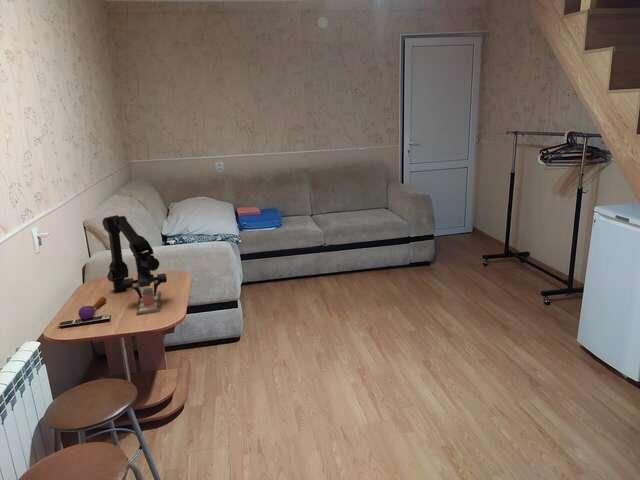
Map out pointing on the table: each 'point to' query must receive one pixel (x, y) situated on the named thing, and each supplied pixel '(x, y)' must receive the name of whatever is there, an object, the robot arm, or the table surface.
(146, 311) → the board
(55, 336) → the table surface
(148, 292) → the red and gray block
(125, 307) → the table surface
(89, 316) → the purple maraca
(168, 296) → the table surface
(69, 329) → the table surface
